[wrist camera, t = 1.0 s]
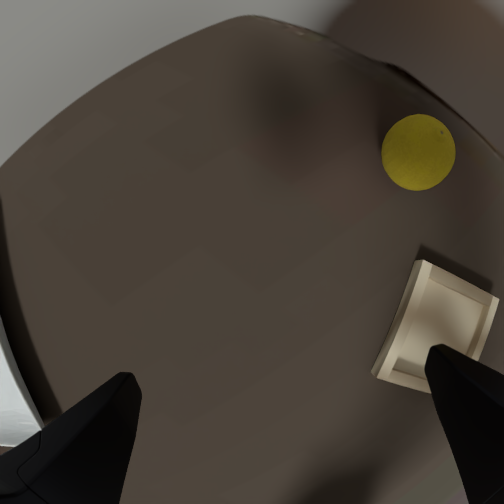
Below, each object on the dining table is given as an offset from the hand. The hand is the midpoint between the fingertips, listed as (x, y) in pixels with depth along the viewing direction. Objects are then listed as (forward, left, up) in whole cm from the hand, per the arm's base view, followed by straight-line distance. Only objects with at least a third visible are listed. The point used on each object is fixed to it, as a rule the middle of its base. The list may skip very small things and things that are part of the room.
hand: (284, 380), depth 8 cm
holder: (-1, -15, -15) cm, 21 cm away
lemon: (+13, -10, -15) cm, 22 cm away
